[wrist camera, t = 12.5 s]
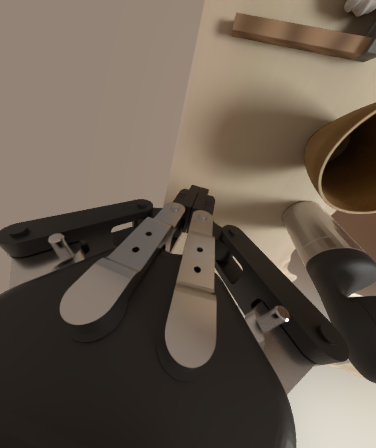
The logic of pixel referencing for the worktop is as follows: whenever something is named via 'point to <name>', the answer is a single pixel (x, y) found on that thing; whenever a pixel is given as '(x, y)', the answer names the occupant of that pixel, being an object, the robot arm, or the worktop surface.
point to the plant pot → (345, 161)
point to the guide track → (306, 37)
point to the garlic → (360, 6)
